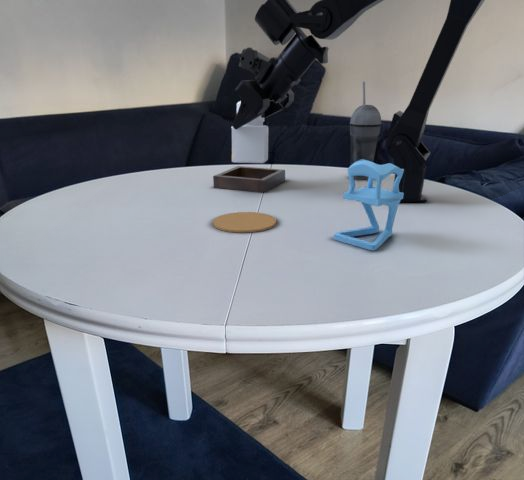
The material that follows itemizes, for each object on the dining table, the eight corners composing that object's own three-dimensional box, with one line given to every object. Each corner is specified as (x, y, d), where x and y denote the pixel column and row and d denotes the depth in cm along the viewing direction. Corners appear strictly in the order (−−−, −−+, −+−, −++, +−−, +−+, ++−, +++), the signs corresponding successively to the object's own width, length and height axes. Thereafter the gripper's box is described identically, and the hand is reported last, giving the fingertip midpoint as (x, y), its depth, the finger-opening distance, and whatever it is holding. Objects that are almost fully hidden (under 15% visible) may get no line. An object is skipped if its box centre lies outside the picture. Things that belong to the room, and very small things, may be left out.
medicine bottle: (236, 159, 110) (236, 100, 105) (268, 160, 109) (269, 100, 104) (231, 162, 103) (230, 99, 98) (264, 163, 103) (265, 100, 97)
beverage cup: (378, 181, 112) (389, 82, 101) (347, 181, 112) (354, 82, 101) (373, 174, 118) (383, 80, 107) (343, 174, 118) (350, 81, 108)
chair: (404, 238, 76) (416, 158, 70) (373, 251, 72) (382, 165, 65) (364, 228, 81) (372, 151, 75) (332, 239, 76) (338, 158, 70)
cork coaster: (276, 232, 80) (276, 230, 79) (209, 232, 80) (209, 230, 79) (275, 214, 89) (275, 211, 89) (216, 214, 89) (216, 212, 89)
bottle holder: (285, 180, 113) (285, 169, 111) (263, 192, 103) (263, 180, 102) (238, 176, 117) (237, 165, 116) (213, 187, 107) (213, 175, 106)
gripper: (280, 32, 100) (235, 92, 110) (243, 28, 86) (194, 98, 95) (315, 76, 102) (267, 131, 111) (284, 79, 87) (232, 143, 96)
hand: (241, 125), depth 103 cm, fingers closed on medicine bottle, 7 cm apart
